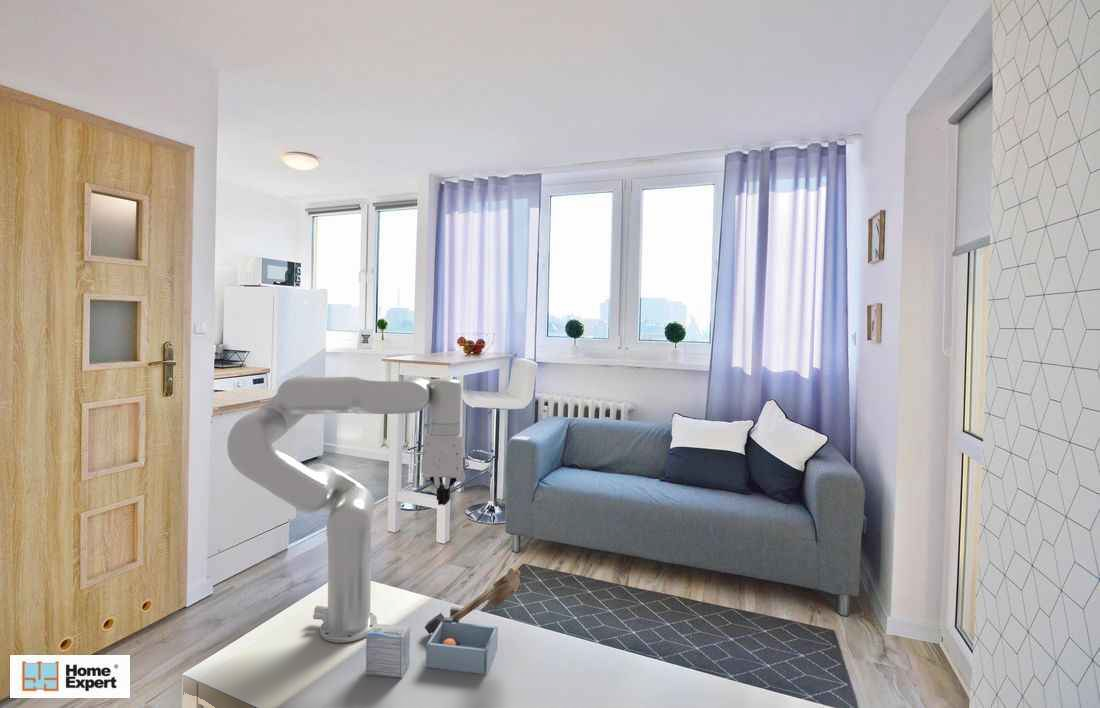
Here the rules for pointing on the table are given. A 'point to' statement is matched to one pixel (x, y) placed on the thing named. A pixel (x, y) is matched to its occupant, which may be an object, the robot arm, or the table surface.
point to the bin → (462, 647)
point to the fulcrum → (450, 620)
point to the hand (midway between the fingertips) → (443, 503)
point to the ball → (449, 642)
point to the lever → (483, 598)
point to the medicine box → (388, 650)
